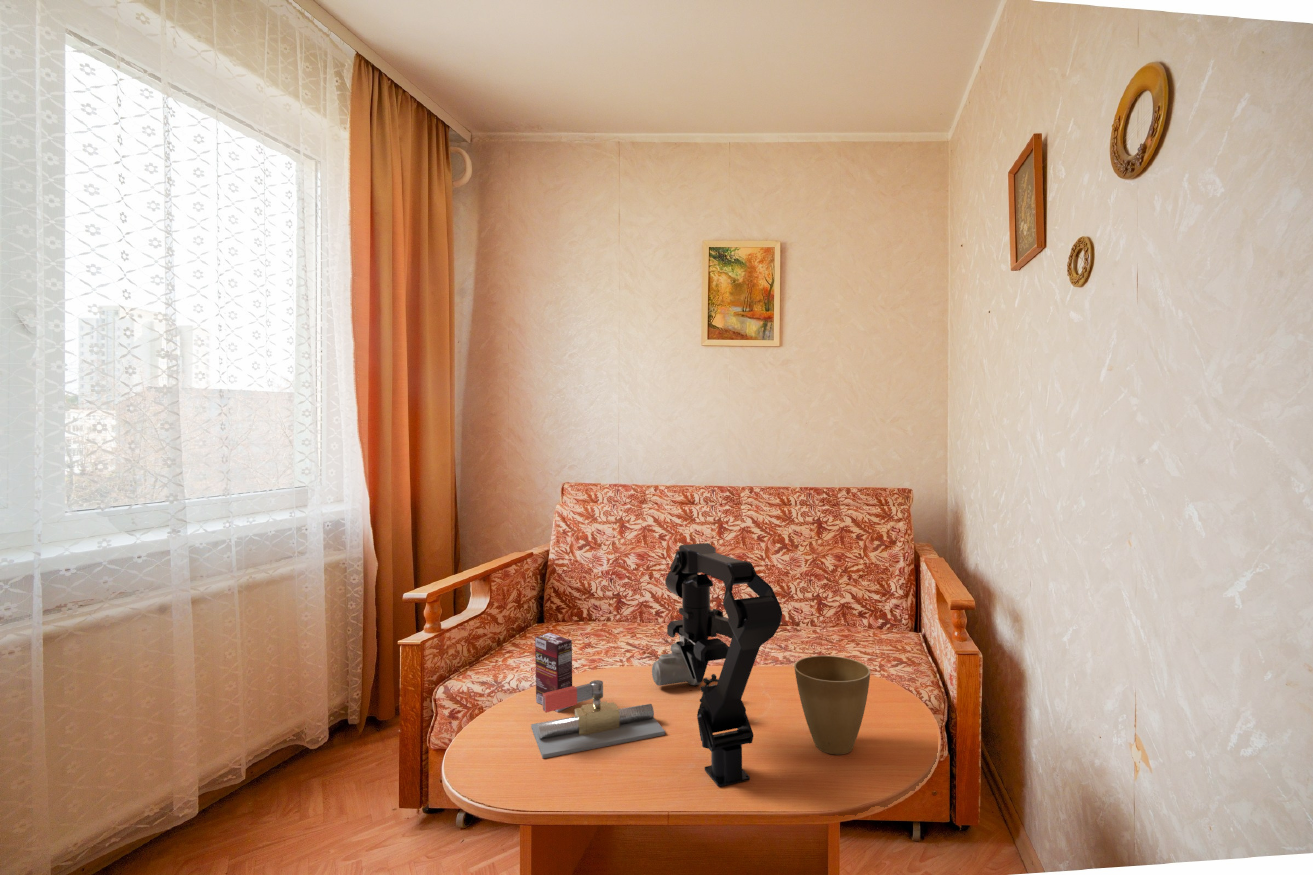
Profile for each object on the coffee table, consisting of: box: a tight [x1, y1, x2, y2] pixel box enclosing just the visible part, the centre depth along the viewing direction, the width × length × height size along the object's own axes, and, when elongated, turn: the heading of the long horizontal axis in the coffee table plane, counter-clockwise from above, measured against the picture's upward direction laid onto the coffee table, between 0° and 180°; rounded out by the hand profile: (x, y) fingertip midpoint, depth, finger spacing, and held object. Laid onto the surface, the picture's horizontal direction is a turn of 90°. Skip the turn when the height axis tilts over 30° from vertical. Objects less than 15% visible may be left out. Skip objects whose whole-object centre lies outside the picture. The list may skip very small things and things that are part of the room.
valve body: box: [537, 699, 655, 739], centre depth 134 cm, size 25×4×6 cm, turn 110°
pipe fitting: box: [651, 642, 702, 687], centre depth 158 cm, size 12×8×10 cm
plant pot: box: [793, 655, 871, 755], centre depth 127 cm, size 15×15×16 cm
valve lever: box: [542, 679, 604, 713], centre depth 132 cm, size 13×3×3 cm, turn 122°
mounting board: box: [530, 704, 666, 759], centre depth 134 cm, size 26×14×1 cm, turn 110°
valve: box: [699, 673, 719, 693], centre depth 143 cm, size 7×7×12 cm
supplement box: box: [534, 632, 573, 713], centre depth 148 cm, size 9×5×16 cm, turn 48°
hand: (697, 680), depth 128 cm, fingers closed
